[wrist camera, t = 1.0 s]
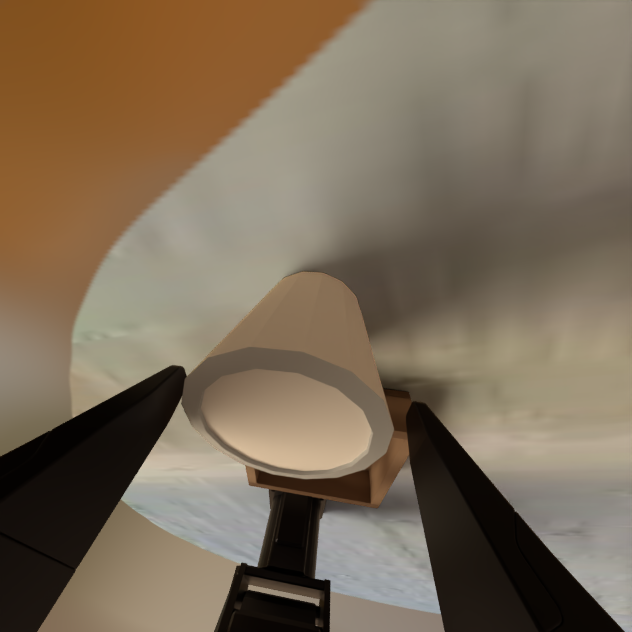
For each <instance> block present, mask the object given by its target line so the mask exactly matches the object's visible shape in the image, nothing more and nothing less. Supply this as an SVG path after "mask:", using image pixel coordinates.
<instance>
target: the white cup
mask: <svg viewBox="0 0 632 632" xmlns="http://www.w3.org/2000/svg"><path fill="white" fill-rule="evenodd" d="M181 404H182V406H183V408H184V410H185V412H186V415H187V417H188V419H189V421H190V423H191V425H192V427H193V428H194V429H195V430H196V431H197V432H198V433H199V434H200V435H201V436H202V437H203V438H204V439H205V440H206V441H207V442H208V443H209V444H210V445H211V446H212V447H213V448H215V449H216V450H218V451H220V452H222V453H223V454H225V455H227V456H229V457H231V458H232V459H234V460H236V461H238V462H239V463H241V464H243V465H246V466H249V467H252V468H255V469H258V470H261V471H264V472H267V473H270V474H274V475H280V476H287V477H294V478H301V479H320V478H338V477H341V476H344V475H348V474H351V473H354V472H358V471H361V470H364V469H366V468H368V467H369V466H370V465H371V464H373V463H374V462H375V461H377V460H378V459H379V458H380V457H382V456H383V455H384V454H386V452H387V449H388V446H389V443H390V440H391V437H392V434H393V432H394V427H393V423H392V420H391V416H390V413H389V409H388V406H387V402H386V398H385V395H384V391H383V388H382V384H381V381H380V377H379V373H378V370H377V366H376V363H375V359H374V356H373V352H372V348H371V345H370V341H369V338H368V334H367V331H366V327H365V324H364V320H363V316H362V313H361V310H360V307H359V304H358V301H357V298H356V295H355V294H354V293H353V292H352V291H351V290H350V289H349V288H348V287H347V286H346V285H345V284H344V283H343V282H342V281H340V280H338V279H336V278H334V277H332V276H329V275H327V274H325V273H320V272H303V271H302V272H299V273H296V274H293V275H291V276H288V277H285V278H283V279H282V280H281V281H280V282H279V283H278V284H277V285H276V286H275V287H274V288H273V289H272V290H270V292H269V293H268V294H267V295H266V296H265V297H264V298H263V299H262V300H261V301H260V302H259V303H258V304H257V305H256V306H255V307H254V308H253V309H252V310H251V311H250V312H249V313H248V314H247V315H246V316H245V317H244V318H243V319H242V320H241V321H240V322H239V323H238V325H237V326H236V327H235V328H234V329H233V330H232V331H231V332H230V333H229V334H228V335H227V336H226V337H225V338H224V339H223V340H222V341H221V342H220V343H219V344H218V345H217V346H216V347H215V348H214V349H213V350H212V351H211V352H210V353H209V354H208V355H207V356H206V357H205V359H204V360H203V361H202V362H201V363H200V364H199V365H198V366H197V367H196V368H195V369H194V370H193V371H192V372H191V373H190V374H189V375H188V376H187V377H186V378H185V382H184V389H183V396H182V403H181Z"/></svg>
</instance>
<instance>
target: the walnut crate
mask: <svg viewBox="0 0 632 632" xmlns="http://www.w3.org/2000/svg"><path fill="white" fill-rule="evenodd" d="M383 391H384V395H385V398H386V402H387V406H388V409H389V413H390V416H391V420H392V423H393V427H394V432H393V434H392V437H391V440H390V443H389V446H388V449H387V452H386V454H384V455H383V456H382V457H380V458H379V459H378V460H377V461H375V462H374V463H373V464H371V465H370V466H369V467H368V468H366V469H364V470H361V471H358V472H354V473H351V474H348V475H344V476H341V477H338V478H320V479H301V478H294V477H287V476H280V475H274V474H270V473H267V472H264V471H261V470H258V469H255V468H252V467H249V466H246V465H245V466H246V472H247V477H248V482H249V485H250V486H255V487H261V488H266V489H272V490H278V491H283V492H289V493H294V494H300V495H306V496H311V497H317V498H322V499H328V500H333V501H339V502H345V503H350V504H356V505H361V506H367V507H372V508H378V507H379V505H380V503H381V502H382V500H383V498H384V497H385V495H386V493H387V491H388V490H389V488H390V486H391V485H392V483H393V481H394V479H395V478H396V476H397V474H398V473H399V471H400V469H401V468H402V466H403V464H404V462H405V461H406V459H407V457H408V456H409V447H408V437H407V427H406V414H407V412H408V410H409V408H410V405H411V403H412V402H411V398H410V395H409V392H405V391H398V390H391V389H385V388H383Z"/></svg>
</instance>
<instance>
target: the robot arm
mask: <svg viewBox="0 0 632 632" xmlns="http://www.w3.org/2000/svg"><path fill="white" fill-rule="evenodd" d="M186 377H187V376H186V373H185V370H184V368H183V367H182V366H176V365H172V366H169V367H167V368H166V369H164V370H162V371H160V372H158V373H156V374H154V375H152V376H151V377H149V378H147V379H145V380H143V381H141V382H139V383H138V384H136V385H134V386H132V387H130V388H128V389H126V390H125V391H123V392H121V393H119V394H117V395H115V396H113V397H111V398H110V399H108V400H106V401H104V402H102V403H100V404H98V405H97V406H95V407H93V408H91V409H89V410H87V411H85V412H84V413H82V414H80V415H78V416H76V417H74V418H72V419H70V420H69V421H67V422H65V423H63V424H61V425H60V426H57V427H56V428H54V429H52V431H48V432H46V433H45V434H42V435H41V436H39V437H37V438H35V439H33V440H31V441H29V442H27V443H25V444H24V445H22V446H20V447H18V448H16V449H14V450H12V451H10V452H8V453H6V454H4V455H2V456H0V632H37V631H38V629H39V628H40V626H41V625H42V623H43V622H44V620H45V619H46V617H47V615H48V614H49V612H50V610H51V609H52V607H53V606H54V604H55V603H56V601H57V599H58V597H59V596H60V595H61V593H62V592H63V590H64V588H65V587H66V585H67V583H68V582H69V580H70V579H71V577H72V576H73V574H74V573H75V571H76V568H77V567H78V566H79V564H80V563H81V561H82V559H83V558H84V556H85V555H86V553H87V552H88V550H89V548H90V547H91V545H92V544H93V542H94V540H95V539H96V537H97V536H98V534H99V532H100V531H101V529H102V528H103V526H104V525H105V523H106V521H107V520H108V518H109V517H110V515H111V513H112V512H113V510H114V509H115V507H116V505H117V504H118V502H119V501H120V499H121V498H122V496H123V494H124V493H125V491H126V490H127V488H128V486H129V485H130V483H131V482H132V480H133V479H134V477H135V475H136V474H137V472H138V471H139V469H140V467H141V466H142V464H143V463H144V461H145V459H146V458H147V456H148V455H149V453H150V452H151V450H152V448H153V447H154V445H155V444H156V442H157V440H158V439H159V437H160V436H161V434H162V432H163V431H164V429H165V428H166V426H167V424H168V423H169V421H170V419H171V417H172V415H173V413H174V411H175V409H176V407H177V405H178V403H179V401H180V399H181V397H182V395H183V389H184V382H185V378H186ZM406 427H407V437H408V447H409V457H410V464H411V470H412V475H413V480H414V485H415V489H416V494H417V499H418V504H419V509H420V514H421V518H422V523H423V528H424V533H425V538H426V543H427V548H428V552H429V557H430V562H431V567H432V572H433V577H434V581H435V586H436V591H437V596H438V601H439V606H440V611H441V615H442V620H443V625H444V630H445V632H625V631H624V630H623V629H622V628H621V627H620V626H619V625H618V624H617V623H616V622H615V621H614V620H613V619H612V618H611V616H610V615H609V614H608V613H607V612H606V611H605V610H604V609H603V608H602V607H601V606H600V605H599V604H598V603H597V601H596V600H595V599H594V598H593V597H592V596H591V595H590V594H589V593H588V592H587V591H586V590H585V589H584V588H583V586H582V585H581V584H580V583H579V582H578V581H577V580H576V579H575V578H574V577H573V576H572V574H571V573H570V572H569V571H568V570H567V569H566V568H565V567H564V566H563V565H562V564H561V562H560V561H559V560H558V559H557V558H556V557H555V556H554V555H553V554H552V553H551V551H550V550H549V549H548V548H547V547H546V546H545V544H544V543H543V542H542V541H541V540H540V539H539V537H538V536H537V535H536V534H535V533H534V532H533V531H532V529H531V528H530V527H529V526H528V525H527V524H526V522H525V521H524V520H523V519H522V518H521V516H520V515H519V514H518V513H517V512H515V511H514V508H513V507H512V506H511V505H510V503H509V502H508V501H507V500H506V499H505V497H504V496H503V495H502V494H501V493H500V492H499V490H498V489H497V488H496V487H495V486H494V484H493V483H492V482H491V481H490V480H489V478H488V477H487V476H486V475H485V474H484V473H483V471H482V470H481V469H480V468H479V467H478V465H477V464H476V463H475V462H474V461H473V459H472V458H471V457H470V456H469V455H468V453H467V452H466V451H465V450H464V449H463V448H462V446H461V445H460V444H459V443H458V442H457V440H456V439H455V438H454V437H453V436H452V434H451V433H450V432H449V431H448V430H447V428H446V427H445V426H444V425H443V424H442V423H441V421H440V420H439V419H438V418H437V417H436V415H435V414H434V413H433V412H432V411H431V409H430V408H429V407H428V406H427V405H426V404H425V403H423V402H417V401H413V402H412V403H411V405H410V408H409V410H408V412H407V414H406ZM269 498H270V509H271V511H270V515H269V519H268V524H267V528H266V532H265V536H264V541H263V545H262V549H261V554H260V558H259V562H258V567H254V566H249V565H247V564H246V563H241V566H237V567H236V570H235V574H234V577H233V581H232V584H231V587H230V591H229V594H228V596H227V599H226V602H225V604H224V607H223V610H222V612H221V615H220V618H219V620H218V623H217V625H216V628H215V630H214V632H330V626H329V625H330V580H326V579H325V580H324V581H323V580H319V579H315V570H316V558H317V546H318V534H319V522H320V519H321V518H322V515H323V511H324V507H325V503H326V499H322V498H317V497H311V496H306V495H300V494H294V493H289V492H283V491H278V490H272V489H269ZM248 585H254V586H259V587H264V588H269V589H273V590H278V591H283V592H288V593H293V594H298V595H302V596H307V597H313V598H317V599H320V601H319V606H316V605H315V604H314V603H309V602H304V601H300V600H294V599H289V598H285V597H280V596H275V595H270V594H266V593H261V592H256V591H251V590H248ZM315 625H318V626H315Z"/></svg>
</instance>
